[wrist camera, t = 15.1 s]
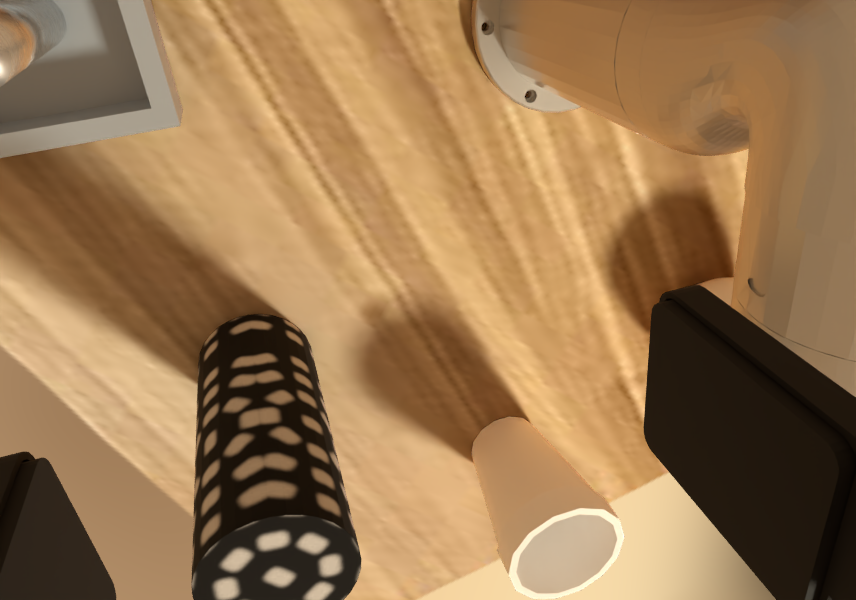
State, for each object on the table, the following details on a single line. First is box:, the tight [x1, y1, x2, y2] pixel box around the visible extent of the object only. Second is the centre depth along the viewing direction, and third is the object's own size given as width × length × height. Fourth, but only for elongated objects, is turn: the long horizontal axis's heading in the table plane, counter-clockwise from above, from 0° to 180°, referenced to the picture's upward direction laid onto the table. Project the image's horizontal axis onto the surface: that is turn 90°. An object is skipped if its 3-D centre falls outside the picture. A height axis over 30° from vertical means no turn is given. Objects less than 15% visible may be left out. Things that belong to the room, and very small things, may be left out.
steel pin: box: [0, 0, 66, 87], centre depth 31 cm, size 3×3×12 cm
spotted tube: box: [192, 314, 361, 600], centre depth 42 cm, size 8×8×20 cm
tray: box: [0, 0, 183, 158], centre depth 35 cm, size 12×12×4 cm
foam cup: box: [471, 416, 624, 599], centre depth 56 cm, size 10×9×13 cm
